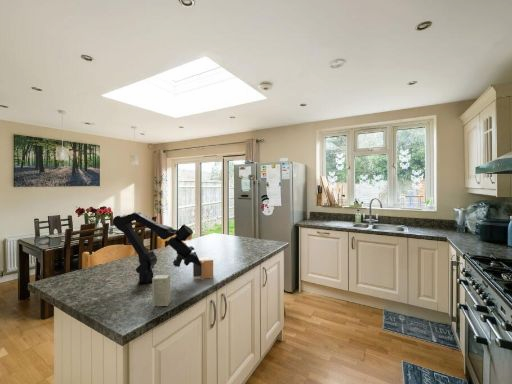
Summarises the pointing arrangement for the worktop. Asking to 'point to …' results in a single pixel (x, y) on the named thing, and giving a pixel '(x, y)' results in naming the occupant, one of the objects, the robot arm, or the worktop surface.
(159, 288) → the skincare box
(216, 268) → the worktop surface
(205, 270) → the orange l-shaped block
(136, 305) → the worktop surface
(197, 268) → the block
